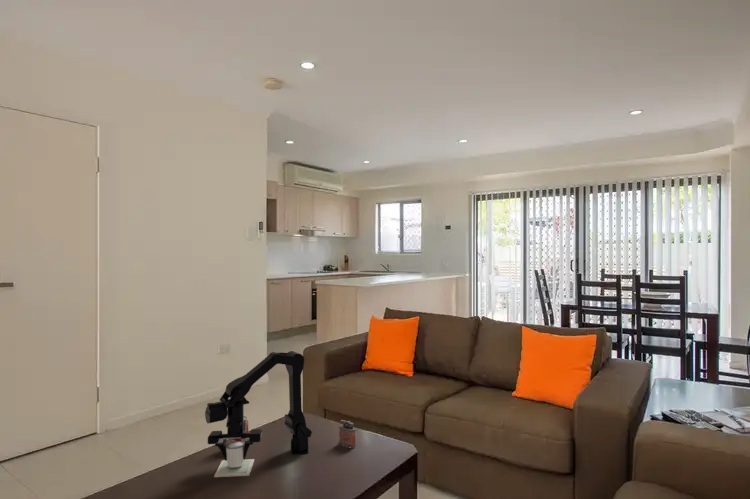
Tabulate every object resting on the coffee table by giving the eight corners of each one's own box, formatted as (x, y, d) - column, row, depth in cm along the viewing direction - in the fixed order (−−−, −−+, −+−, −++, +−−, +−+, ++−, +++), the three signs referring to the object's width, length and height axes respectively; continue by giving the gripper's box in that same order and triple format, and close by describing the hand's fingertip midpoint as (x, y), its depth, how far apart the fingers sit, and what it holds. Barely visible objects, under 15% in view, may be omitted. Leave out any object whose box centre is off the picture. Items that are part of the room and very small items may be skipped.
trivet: (254, 460, 175) (254, 458, 175) (249, 475, 163) (249, 473, 163) (222, 462, 173) (222, 459, 173) (214, 477, 161) (214, 475, 161)
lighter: (357, 446, 188) (357, 421, 188) (352, 449, 185) (353, 424, 185) (341, 441, 192) (342, 418, 192) (337, 444, 189) (337, 420, 190)
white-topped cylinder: (248, 461, 170) (248, 442, 170) (237, 469, 164) (237, 449, 164) (233, 458, 172) (233, 440, 172) (221, 466, 166) (221, 447, 166)
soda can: (250, 444, 189) (251, 415, 190) (244, 451, 182) (244, 421, 182) (234, 443, 190) (234, 414, 190) (227, 451, 183) (227, 421, 183)
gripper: (264, 409, 177) (264, 449, 177) (214, 410, 175) (214, 451, 175) (260, 419, 166) (260, 462, 166) (207, 421, 164) (207, 464, 164)
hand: (235, 459), depth 168 cm, fingers closed on white-topped cylinder, 6 cm apart
